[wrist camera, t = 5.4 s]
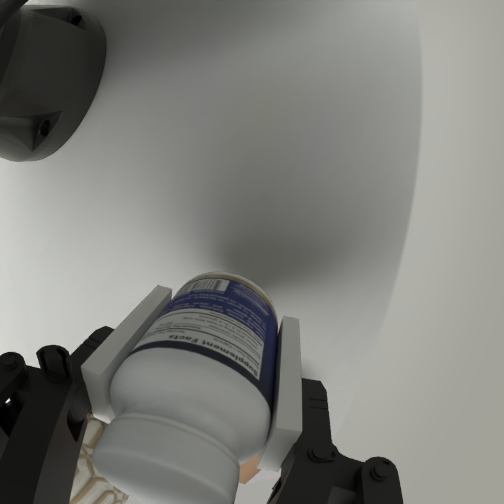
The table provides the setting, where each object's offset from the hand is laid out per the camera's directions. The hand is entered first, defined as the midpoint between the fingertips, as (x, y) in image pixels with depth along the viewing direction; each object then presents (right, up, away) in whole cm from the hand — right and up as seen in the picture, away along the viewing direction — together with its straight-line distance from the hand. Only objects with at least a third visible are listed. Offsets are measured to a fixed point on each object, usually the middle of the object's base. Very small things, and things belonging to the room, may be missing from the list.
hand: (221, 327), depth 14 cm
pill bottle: (0, 0, +1) cm, 1 cm away
